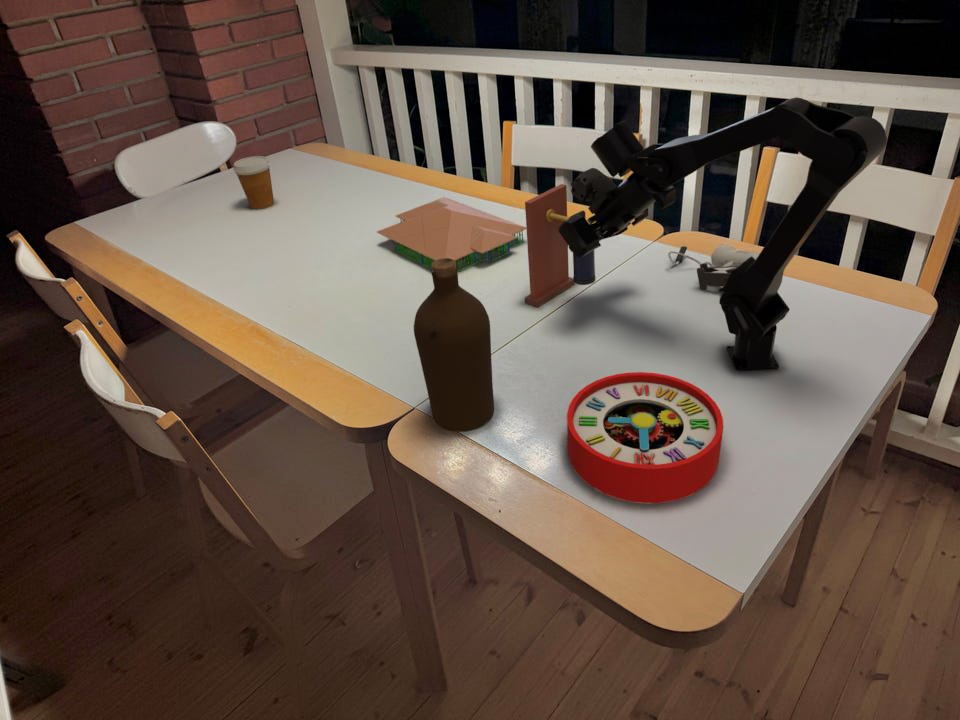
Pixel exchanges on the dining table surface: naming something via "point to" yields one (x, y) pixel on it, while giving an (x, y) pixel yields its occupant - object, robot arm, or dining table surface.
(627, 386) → the toy clock
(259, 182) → the glass of beer
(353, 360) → the dining table surface
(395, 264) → the dining table surface
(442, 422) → the olive oil
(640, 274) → the dining table surface
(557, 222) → the red upright board
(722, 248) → the clip-on lamp
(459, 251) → the house
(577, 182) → the robot arm
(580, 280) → the navy blue cylinder
